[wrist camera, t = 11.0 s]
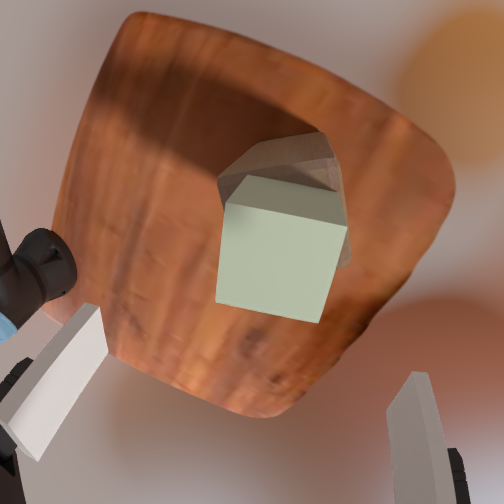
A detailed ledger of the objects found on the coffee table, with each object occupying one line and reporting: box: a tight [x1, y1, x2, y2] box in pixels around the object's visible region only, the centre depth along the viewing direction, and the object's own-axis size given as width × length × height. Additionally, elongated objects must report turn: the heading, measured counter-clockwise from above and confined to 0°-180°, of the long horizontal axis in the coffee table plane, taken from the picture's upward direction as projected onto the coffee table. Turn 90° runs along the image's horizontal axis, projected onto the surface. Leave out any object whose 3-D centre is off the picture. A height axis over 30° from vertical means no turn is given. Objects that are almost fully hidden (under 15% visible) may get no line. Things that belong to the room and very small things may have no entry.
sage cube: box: [215, 175, 348, 323], centre depth 23 cm, size 7×7×7 cm
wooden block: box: [217, 132, 352, 269], centre depth 35 cm, size 10×10×20 cm
